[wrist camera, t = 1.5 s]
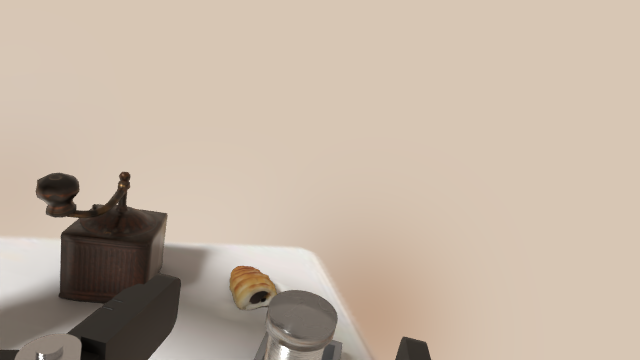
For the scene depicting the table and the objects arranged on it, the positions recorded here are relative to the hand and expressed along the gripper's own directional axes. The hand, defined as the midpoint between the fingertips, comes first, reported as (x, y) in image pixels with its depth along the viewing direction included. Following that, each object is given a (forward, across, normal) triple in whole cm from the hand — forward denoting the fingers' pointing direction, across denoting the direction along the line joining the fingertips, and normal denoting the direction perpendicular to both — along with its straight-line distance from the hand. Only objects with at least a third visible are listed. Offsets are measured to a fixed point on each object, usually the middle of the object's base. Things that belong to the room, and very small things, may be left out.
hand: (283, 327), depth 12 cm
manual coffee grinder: (+29, +28, +24) cm, 47 cm away
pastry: (+37, +10, +24) cm, 45 cm away
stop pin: (+11, 0, +21) cm, 24 cm away
